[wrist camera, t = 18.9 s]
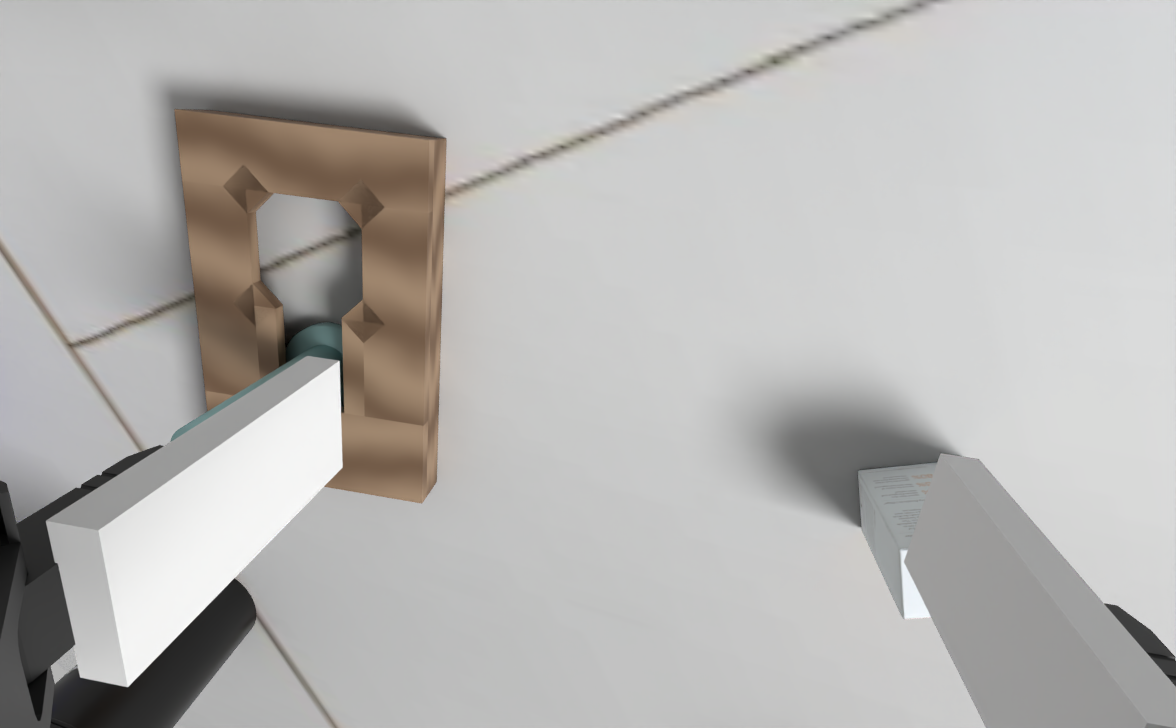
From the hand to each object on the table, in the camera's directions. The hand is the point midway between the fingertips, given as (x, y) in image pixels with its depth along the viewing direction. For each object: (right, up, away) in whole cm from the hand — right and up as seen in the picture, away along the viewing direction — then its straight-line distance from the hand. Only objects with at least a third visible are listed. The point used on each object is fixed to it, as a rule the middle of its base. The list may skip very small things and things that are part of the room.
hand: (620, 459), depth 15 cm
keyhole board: (-21, +6, +38) cm, 44 cm away
